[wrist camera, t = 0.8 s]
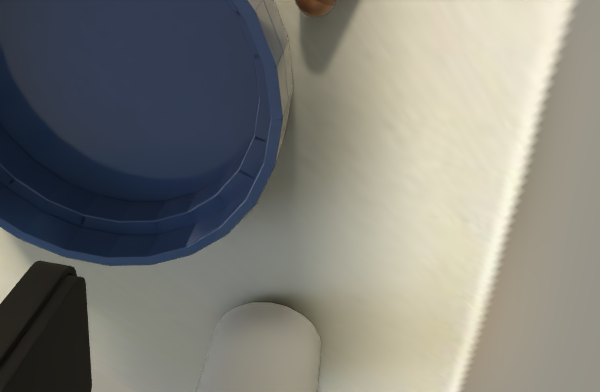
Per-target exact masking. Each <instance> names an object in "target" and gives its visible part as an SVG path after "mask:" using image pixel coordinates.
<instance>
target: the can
mask: <svg viewBox="0 0 600 392" xmlns="http://www.w3.org/2000/svg"><path fill="white" fill-rule="evenodd" d="M320 358H321V342H320V336H319V334H318V332H317V331H316V329H315V327H314V325H313V324H312V323H311V322H310V321H309V320H308V319H307V318H306V317H305V316H303V315H302V314H300V313H299V312H297V311H295V310H293V309H291V308H289V307H287V306H284V305H280V304H276V303H272V302H252V303H248V304H244V305H240V306H237V307H235V308H234V309H232V310H230V311H229V312H227V313H226V314H224V316H223V317H222V318H221V320H220V321H219V322H218V324H217V326H216V329H215V332H214V335H213V339H212V342H211V345H210V348H209V351H208V355H207V358H206V361H205V364H204V367H203V370H202V374H201V377H200V380H199V383H198V386H197V390H196V392H318V381H319V369H320Z"/></svg>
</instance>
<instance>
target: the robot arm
mask: <svg viewBox="0 0 600 392" xmlns="http://www.w3.org/2000/svg"><path fill="white" fill-rule="evenodd" d="M91 388H92V379H91V362H90V346H89V330H88V314H87V298H86V283H85V279H84V278H83V277H78V276H77V275H76V270H75V269H74V267H71V266H66V265H61V264H55V263H50V262H44V261H37V262H35V263H34V264H33V265H32V266H31V267H30V268H29V270H28V271H27V272H26V273H25V275H24V276H23V277H22V278H21V279H20V281H19V282H18V283H17V284H16V286H15V287H14V288H13V289H12V290H11V292H10V293H9V294H8V295H7V297H6V298H5V299H4V300H3V302H2V303H1V304H0V392H91Z"/></svg>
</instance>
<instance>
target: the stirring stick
mask: <svg viewBox="0 0 600 392" xmlns="http://www.w3.org/2000/svg"><path fill="white" fill-rule="evenodd" d="M295 1H296V4H297V6H298V8H299V9H300V10H301V11H302V12H303V13H304V14H306V15H308V16H311V17H319V16H323V15H325V14H326V13H328V12H329V11H330V10H331V9H332V7H333V6H334V4H335V2H336V0H295Z"/></svg>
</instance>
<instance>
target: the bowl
mask: <svg viewBox="0 0 600 392" xmlns="http://www.w3.org/2000/svg"><path fill="white" fill-rule="evenodd" d="M292 91H293V79H292V69H291V60H290V50H289V40H288V36H287V34H286V31H285V28H284V26H283V23H282V20H281V18H280V15H279V12H278V10H277V7H276V4H275V2H274V0H0V227H1V228H3V229H4V230H6V231H8V232H9V233H11V234H12V235H14V236H16V237H17V238H19V239H21V240H23V241H25V242H28V243H30V244H33V245H35V246H38V247H40V248H43V249H45V250H48V251H50V252H53V253H55V254H58V255H60V256H63V257H66V258H71V259H76V260H82V261H87V262H92V263H97V264H102V265H109V266H121V265H153V264H157V263H161V262H165V261H169V260H173V259H177V258H181V257H185V256H189V255H191V254H194V253H195V252H197V251H199V250H201V249H203V248H204V247H206V246H208V245H210V244H211V243H213V242H215V241H217V240H219V239H220V238H222V237H224V236H226V235H227V234H228V233H229V232H230V231H231V230H232V229H233V228H234V227H235V226H236V225H237V224H238V223H239V222H240V221H241V220H242V219H243V218H244V217H245V216H246V215H247V214H248V213H249V212H250V211H251V210H252V209H253V207H254V206H255V205H256V204H257V202H258V200H259V198H260V196H261V194H262V192H263V190H264V188H265V186H266V184H267V182H268V180H269V178H270V176H271V174H272V172H273V170H274V168H275V165H276V162H277V158H278V155H279V151H280V148H281V144H282V141H283V137H284V134H285V130H286V126H287V120H288V114H289V108H290V102H291V97H292Z"/></svg>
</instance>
